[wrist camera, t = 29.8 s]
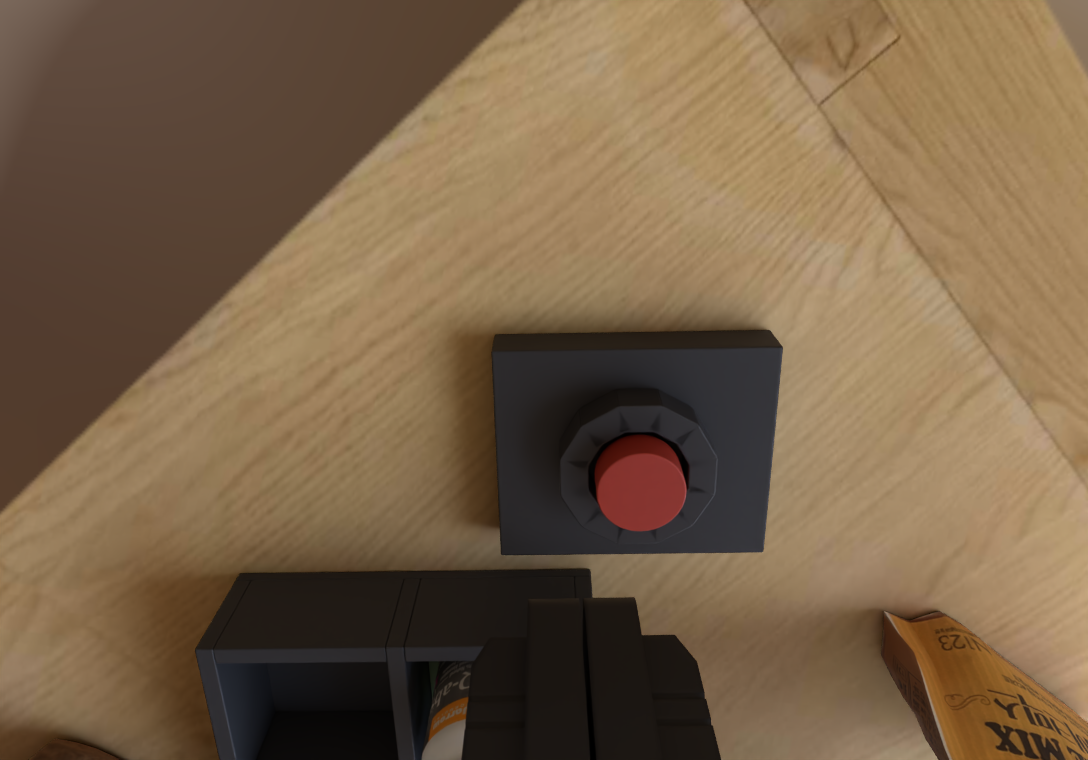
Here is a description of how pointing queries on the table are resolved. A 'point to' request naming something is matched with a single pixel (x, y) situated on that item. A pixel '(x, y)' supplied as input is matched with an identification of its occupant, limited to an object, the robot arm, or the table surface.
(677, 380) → the block
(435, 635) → the black divided tray
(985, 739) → the pancake mix bag
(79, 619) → the table surface
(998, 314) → the table surface
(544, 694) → the robot arm
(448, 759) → the pill bottle
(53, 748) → the bread
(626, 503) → the button
